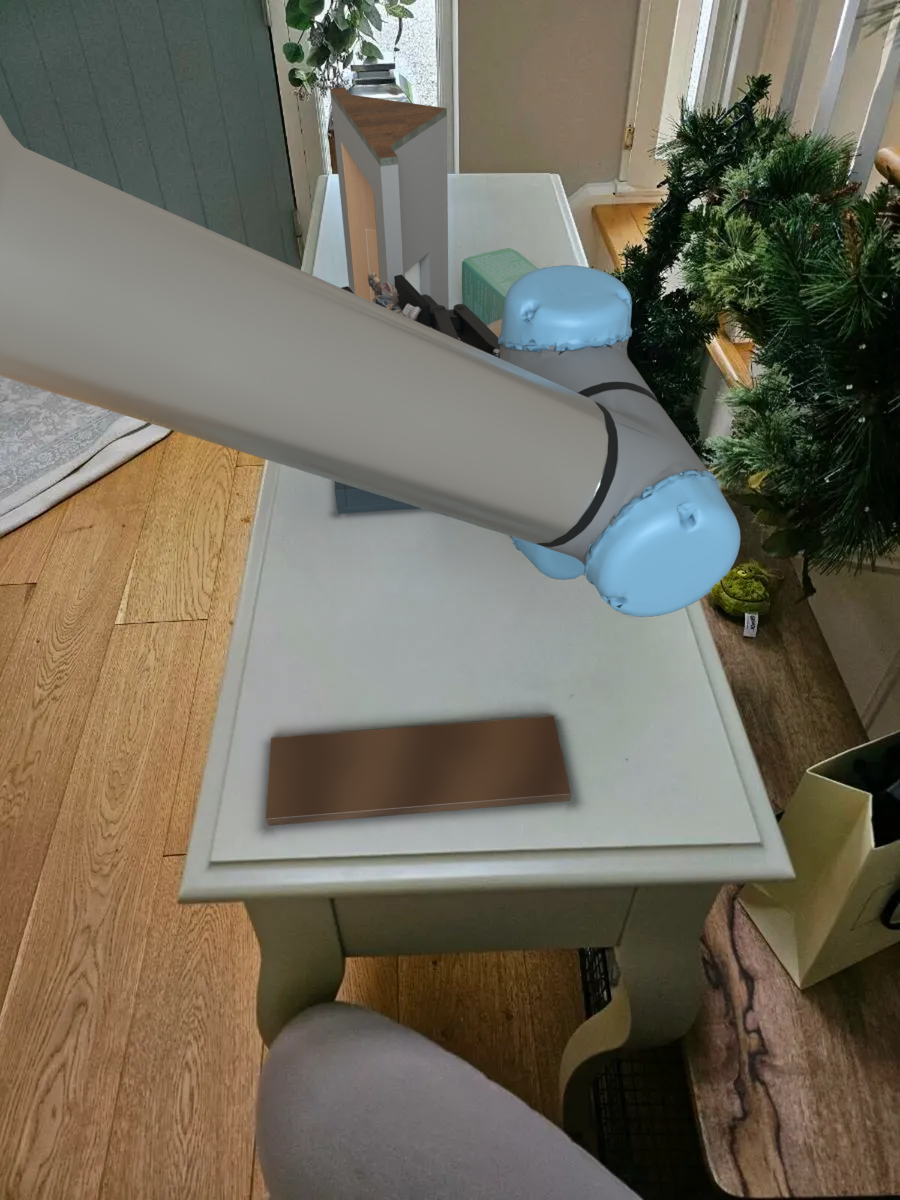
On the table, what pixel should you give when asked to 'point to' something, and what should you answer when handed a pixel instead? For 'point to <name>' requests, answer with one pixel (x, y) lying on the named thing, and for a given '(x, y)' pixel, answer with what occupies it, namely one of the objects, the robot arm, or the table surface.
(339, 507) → the dark grey square tray
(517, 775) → the board
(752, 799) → the table surface
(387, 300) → the figurine
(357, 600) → the table surface
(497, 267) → the box
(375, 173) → the cabinet
